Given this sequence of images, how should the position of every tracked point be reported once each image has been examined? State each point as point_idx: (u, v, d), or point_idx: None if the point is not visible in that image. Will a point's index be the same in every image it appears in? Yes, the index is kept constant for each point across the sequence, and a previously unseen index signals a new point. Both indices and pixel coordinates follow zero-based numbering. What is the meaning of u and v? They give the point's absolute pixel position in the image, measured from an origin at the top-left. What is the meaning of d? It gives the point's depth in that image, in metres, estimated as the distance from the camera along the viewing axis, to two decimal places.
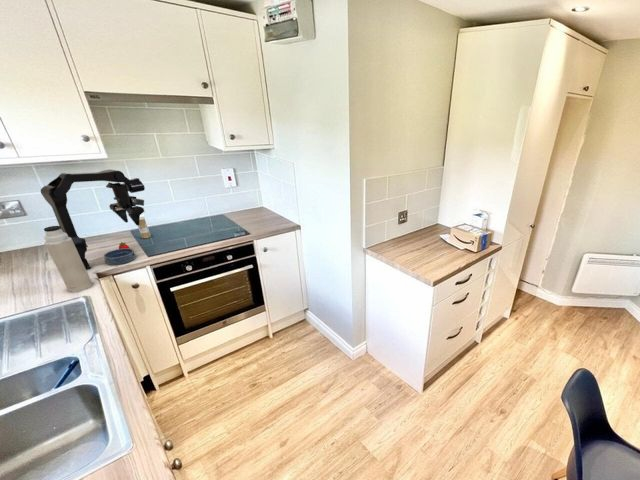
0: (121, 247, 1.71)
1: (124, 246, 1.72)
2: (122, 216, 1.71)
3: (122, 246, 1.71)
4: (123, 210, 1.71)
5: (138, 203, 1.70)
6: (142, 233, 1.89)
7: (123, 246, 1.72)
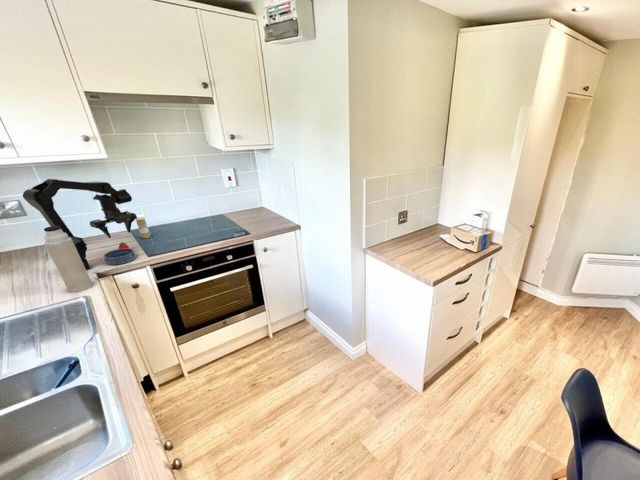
0: (121, 247, 1.71)
1: (124, 246, 1.72)
2: (126, 226, 1.73)
3: (122, 246, 1.71)
4: (127, 221, 1.71)
5: (113, 219, 1.62)
6: (142, 233, 1.89)
7: (123, 246, 1.72)
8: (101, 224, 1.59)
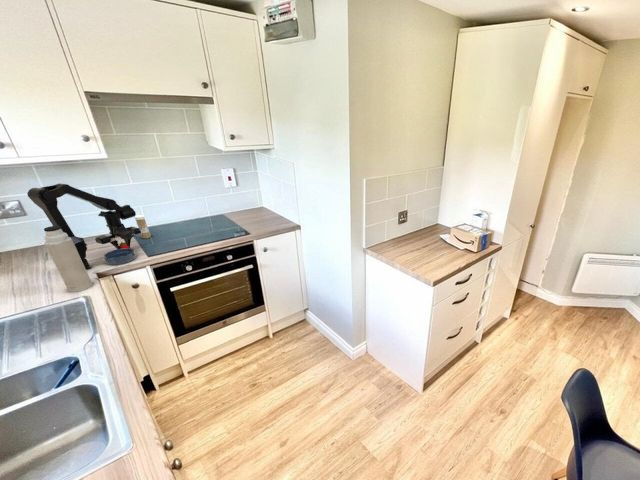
0: (121, 247, 1.71)
1: (124, 246, 1.72)
2: (125, 242, 1.74)
3: (122, 246, 1.71)
4: (126, 237, 1.73)
5: (118, 235, 1.65)
6: (142, 233, 1.89)
7: (123, 246, 1.72)
8: (106, 240, 1.63)
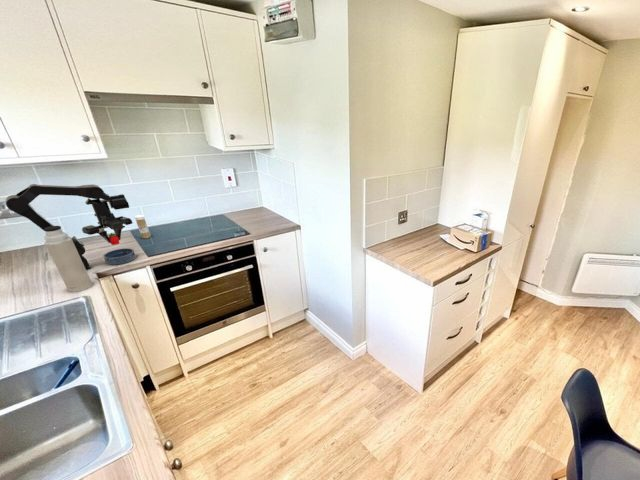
0: (111, 238, 1.59)
1: (114, 237, 1.60)
2: (115, 233, 1.62)
3: (112, 237, 1.59)
4: (116, 228, 1.61)
5: (107, 225, 1.53)
6: (142, 233, 1.89)
7: (113, 237, 1.59)
8: (94, 230, 1.51)
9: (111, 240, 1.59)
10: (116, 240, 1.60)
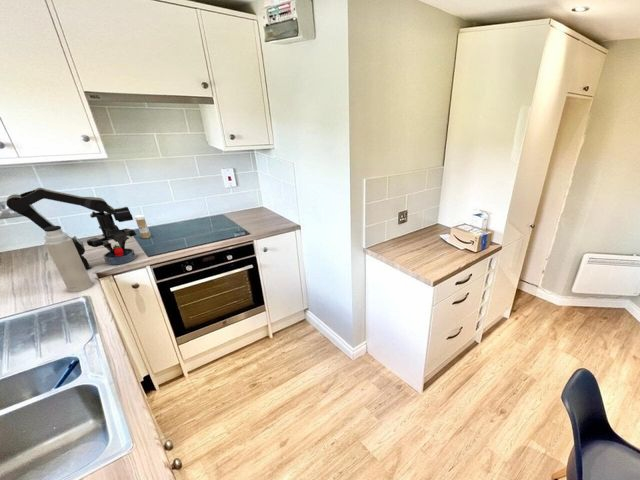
0: (115, 250, 1.61)
1: (118, 249, 1.62)
2: (119, 244, 1.64)
3: (116, 249, 1.61)
4: None
5: (111, 237, 1.55)
6: (142, 233, 1.89)
7: (117, 249, 1.62)
8: (99, 243, 1.53)
9: (115, 252, 1.61)
10: (120, 252, 1.63)
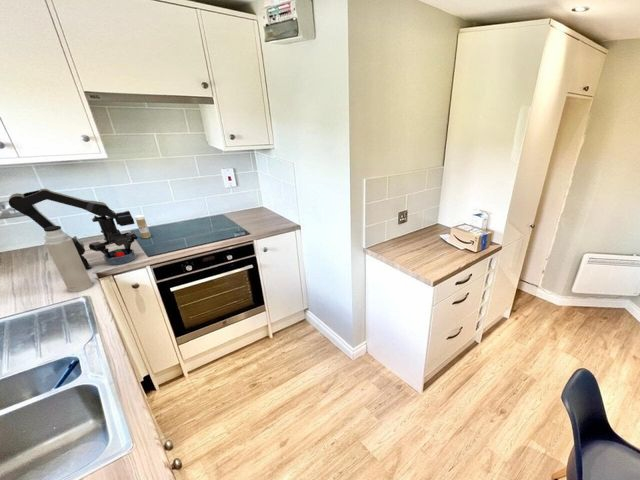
0: (117, 254, 1.62)
1: (120, 253, 1.63)
2: (125, 247, 1.67)
3: (118, 253, 1.62)
4: (126, 242, 1.65)
5: (113, 241, 1.56)
6: (142, 233, 1.89)
7: (119, 253, 1.63)
8: (101, 247, 1.54)
9: (117, 256, 1.62)
10: None
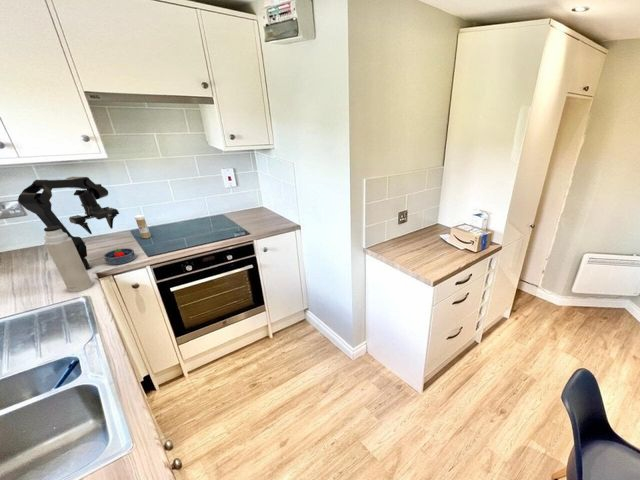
0: (117, 254, 1.62)
1: (120, 253, 1.63)
2: (108, 221, 1.70)
3: (118, 253, 1.62)
4: (108, 217, 1.68)
5: (93, 215, 1.59)
6: (142, 233, 1.89)
7: (119, 253, 1.63)
8: (81, 220, 1.57)
9: (117, 256, 1.62)
10: None
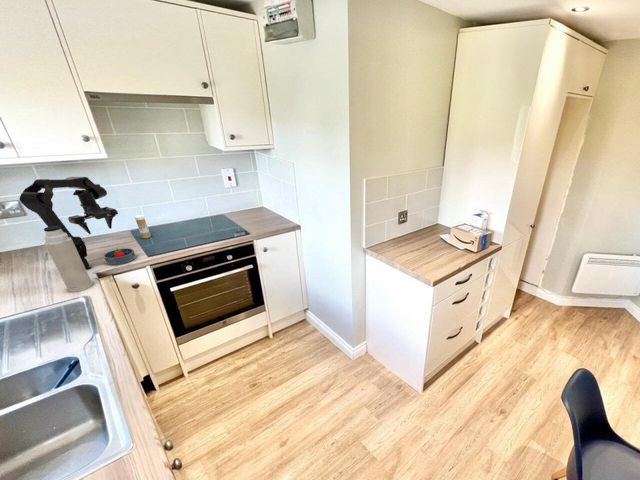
0: (117, 254, 1.62)
1: (120, 253, 1.63)
2: (107, 221, 1.70)
3: (118, 253, 1.62)
4: (107, 217, 1.69)
5: (92, 215, 1.60)
6: (142, 233, 1.89)
7: (119, 253, 1.63)
8: (80, 220, 1.57)
9: (117, 256, 1.62)
10: None
